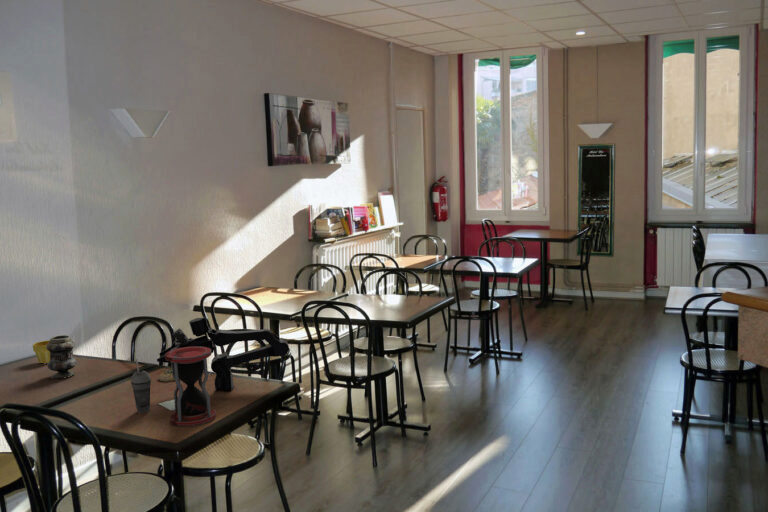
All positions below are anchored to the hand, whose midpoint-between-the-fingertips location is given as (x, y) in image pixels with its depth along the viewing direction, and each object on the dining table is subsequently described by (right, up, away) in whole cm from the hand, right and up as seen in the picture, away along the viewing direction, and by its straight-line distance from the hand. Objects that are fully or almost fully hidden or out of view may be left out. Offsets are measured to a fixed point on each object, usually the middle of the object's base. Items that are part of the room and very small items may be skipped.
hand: (158, 357), depth 286 cm
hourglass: (+21, -19, -27) cm, 39 cm away
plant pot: (-73, -11, +60) cm, 95 cm away
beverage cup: (-1, -18, -16) cm, 24 cm away
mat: (+11, -17, -10) cm, 22 cm away
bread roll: (-2, -13, +26) cm, 29 cm away
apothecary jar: (-54, -14, +36) cm, 66 cm away
